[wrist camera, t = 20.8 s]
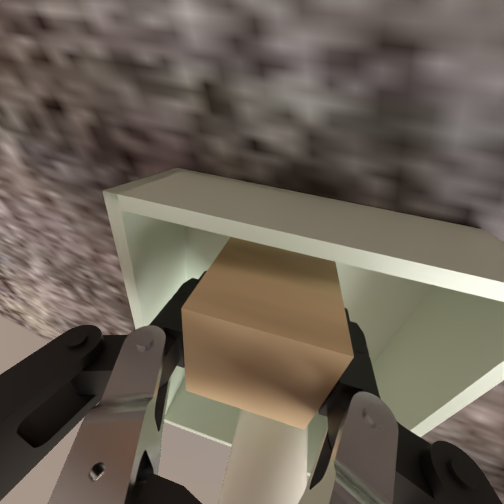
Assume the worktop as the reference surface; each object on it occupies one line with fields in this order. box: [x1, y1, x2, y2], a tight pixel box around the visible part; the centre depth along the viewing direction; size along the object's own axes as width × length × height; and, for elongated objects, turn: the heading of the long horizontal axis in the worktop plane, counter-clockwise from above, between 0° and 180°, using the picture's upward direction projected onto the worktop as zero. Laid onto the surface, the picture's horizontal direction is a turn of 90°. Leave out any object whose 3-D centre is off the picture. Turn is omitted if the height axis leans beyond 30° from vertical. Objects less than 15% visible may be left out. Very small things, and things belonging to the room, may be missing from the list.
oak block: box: [181, 237, 354, 430], centre depth 9 cm, size 5×5×5 cm
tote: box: [103, 168, 504, 476], centre depth 14 cm, size 19×15×5 cm
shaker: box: [218, 409, 308, 504], centre depth 14 cm, size 5×5×10 cm
